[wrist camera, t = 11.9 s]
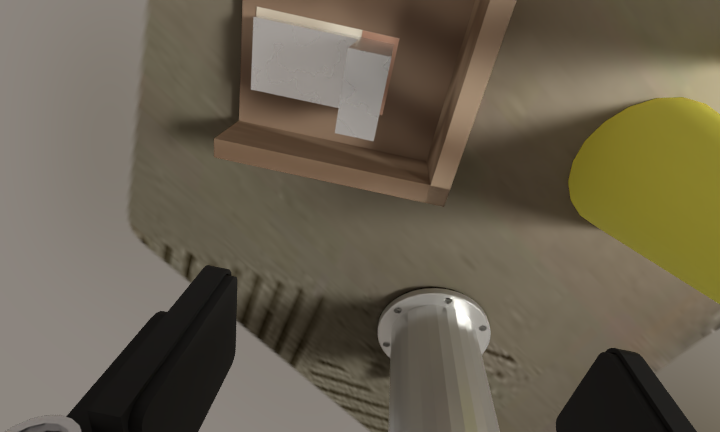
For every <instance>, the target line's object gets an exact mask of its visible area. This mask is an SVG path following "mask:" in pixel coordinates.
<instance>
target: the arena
mask: <svg viewBox="0 0 720 432" xmlns="http://www.w3.org/2000/svg"><path fill="white" fill-rule="evenodd" d="M516 1H517V0H243V5H242V38H241V71H240V104H239V121H237V122H236V123H235V124H233V125H232V126H231V127H229V128H228V129H226V130H225V131H224V132H222V133H221V134H220V135H218V136H217V137H215V138H214V157H216V158H220V159H225V160H230V161H234V162H239V163H243V164H248V165H253V166H257V167H262V168H267V169H271V170H276V171H280V172H285V173H290V174H294V175H299V176H304V177H308V178H313V179H318V180H322V181H327V182H331V183H336V184H341V185H345V186H350V187H355V188H359V189H364V190H368V191H373V192H378V193H382V194H387V195H392V196H396V197H401V198H405V199H410V200H415V201H419V202H424V203H429V204H433V205H438V206H442V207H444V206H445V203H446V200H447V197H448V194H449V191H450V189H451V186H452V183H453V180H454V177H455V174H456V171H457V169H458V166H459V163H460V160H461V157H462V154H463V152H464V149H465V146H466V143H467V140H468V137H469V135H470V132H471V129H472V126H473V123H474V120H475V118H476V115H477V112H478V109H479V106H480V103H481V101H482V98H483V95H484V92H485V89H486V86H487V84H488V81H489V78H490V75H491V72H492V69H493V67H494V64H495V61H496V58H497V55H498V52H499V50H500V47H501V44H502V41H503V38H504V35H505V33H506V30H507V27H508V24H509V21H510V18H511V16H512V13H513V10H514V7H515V4H516ZM256 16H265V17H270V18H274V19H279V20H284V21H288V22H293V23H298V24H302V25H307V26H312V27H316V28H321V29H325V30H330V31H335V32H339V33H344V34H349V35H353V36H358V37H363V38H367V39H372V40H377V41H381V42H386V43H391V44H394V46H393V52H392V57H391V62H390V67H389V71H388V76H387V81H386V86H385V90H384V95H383V100H382V104H381V109H380V114H379V118H378V123H377V128H376V133H375V137H374V141H370V140H365V139H360V138H356V137H351V136H346V135H342V134H337V133H335V128H336V122H337V115H338V109H339V108H336V107H331V106H326V105H322V104H317V103H312V102H307V101H303V100H298V99H293V98H289V97H284V96H279V95H275V94H270V93H265V92H261V91H256V90H251V71H252V44H253V17H256Z"/></svg>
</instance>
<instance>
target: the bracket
mask: <svg viewBox="0 0 720 432" xmlns="http://www.w3.org/2000/svg"><path fill="white" fill-rule="evenodd" d="M393 46H394V44H391V43H386V42H381V41H377V40H372V39H367V38H363V37H358V36H353V35H349V34H344V33H339V32H335V31H330V30H325V29H321V28H316V27H312V26H307V25H302V24H298V23H293V22H288V21H284V20H279V19H274V18H270V17H265V16H256V17H253V44H252V71H251V90H256V91H261V92H265V93H270V94H275V95H279V96H284V97H289V98H293V99H298V100H303V101H307V102H312V103H317V104H322V105H326V106H331V107H336V108H339V109H338V115H337V122H336V128H335V133H337V134H342V135H346V136H351V137H356V138H360V139H365V140H370V141H374V137H375V133H376V128H377V123H378V118H379V114H380V109H381V104H382V100H383V95H384V90H385V86H386V81H387V76H388V71H389V67H390V62H391V57H392V52H393Z"/></svg>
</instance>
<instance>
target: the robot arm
mask: <svg viewBox="0 0 720 432" xmlns="http://www.w3.org/2000/svg"><path fill="white" fill-rule="evenodd" d="M236 311H237V277H234V276H231V271H230V270H229V269H224V268H219V267H214V266H209V265H207V266H205V267H204V268H203V269H202V271H201V272H200V273H199V274H198V276H197V277H196V278H195V279H194V280H193V282H192V283H191V284H190V285H189V287H188V288H187V289H186V290H185V292H184V293H183V294H182V295H181V296H180V298H179V299H178V300H177V301H176V302H175V304H174V305H173V306H172V307H171V308H170V310H169V311H168V312H164V311H160V312H158V313H156V314H155V315H154V316H153V317H152V318H151V319H150V320H149V321H148V322H147V323H146V325H145V326H144V327H143V328H142V329H141V330H140V331H139V333H138V334H137V335H136V336H135V337H134V338H133V340H132V341H131V342H130V343H129V344H128V345H127V347H126V348H125V349H124V350H123V351H122V352H121V354H120V355H119V356H118V357H117V358H116V359H115V361H114V362H113V363H112V364H111V365H110V367H109V368H108V369H107V370H106V371H105V373H103V375H102V376H101V377H100V378H99V379H98V380H97V382H96V383H95V384H94V385H93V386H92V387H91V389H90V390H89V391H88V392H87V393H86V394H85V396H84V397H83V398H82V399H81V400H80V401H79V403H78V404H77V405H76V406H75V407H74V409H72V411H71V412H70V413H69V414H68V415H67V416H66V417H65V416H62V415H46V416H41V417H37V418H33V419H29V420H27V421H25V422H22V423H20V424H18V425H16V426H13V427H12V428H10V429H8V430H7V431H5V432H198V431H199V429H200V427H201V425H202V423H203V421H204V419H205V417H206V415H207V413H208V411H209V409H210V407H211V404H212V403H213V401H214V399H215V397H216V395H217V393H218V391H219V389H220V387H221V385H222V383H223V381H224V379H225V377H226V375H227V373H228V371H229V369H230V367H231V365H232V363H233V360H234V356H235V347H236ZM490 334H491V331H490V325H489V322H488V319H487V316H486V314H485V312H484V311H483V309H482V308H481V307H480V306H479V305H478V304H477V303H476V302H475V301H474V300H472V299H471V298H469V297H468V296H466V295H463V294H461V293H459V292H456V291H452V290H448V289H439V288H427V289H420V290H415V291H411V292H409V293H406V294H403V295H401V296H400V297H398V298H396V299H394V300H393V301H392V302H391V303H390V304H389V305H387V307H386V308H385V309H384V311H383V312H382V314H381V316H380V318H379V323H378V340H379V344H380V346H381V348H382V350H383V351H384V352H385V353H386V355H387V356H388V357H389V358H390V398H389V432H500V430H499V426H498V421H497V417H496V413H495V409H494V405H493V400H492V396H491V392H490V388H489V384H488V379H487V375H486V371H485V367H484V363H483V358H482V354H483V352H484V351H485V350H486V348H487V346H488V344H489V341H490ZM556 431H557V432H697V431H696V430H695V429H694V427H693V426H692V425H691V423H690V422H689V421H688V419H687V418H686V416H685V415H684V414H683V412H682V411H681V410H680V408H679V407H678V405H677V404H676V403H675V401H674V400H673V399H672V397H671V396H670V394H669V393H668V392H667V390H666V389H665V388H664V386H663V385H662V383H661V382H660V381H659V379H658V378H657V377H656V375H655V374H654V372H653V371H652V370H651V368H650V367H649V366H648V364H647V363H646V361H645V360H644V359H643V358H642V357H641V355H640V354H638V353H636V352H631V351H626V350H621V349H616V348H610V349H608V350H607V351H606V352H603V353H600V355H599V356H598V357H597V359H596V360H595V362H594V363H593V365H592V366H591V368H590V369H589V371H588V372H587V374H586V375H585V377H584V378H583V380H582V381H581V383H580V384H579V386H578V387H577V389H576V390H575V392H574V393H573V395H572V396H571V398H570V399H569V401H568V402H567V404H566V405H565V407H564V408H563V410H562V411H561V413H560V414H559V416H558V417H557V420H556Z"/></svg>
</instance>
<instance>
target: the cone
mask: <svg viewBox="0 0 720 432" xmlns="http://www.w3.org/2000/svg"><path fill="white" fill-rule="evenodd" d="M568 185H569V192H570V199H571V202H572V203H573V205H574V207H575V208H576V210H577V211H578V213H579V215H580V216H582V217H583V218H585V219H586V220H587V221H589V222H590V223H592V224H593V225H595V226H596V227H598V228H599V229H601V230H602V231H604V232H606V233H607V234H609V235H610V236H612V237H614V238H615V239H617V240H618V241H620V242H622V243H623V244H625V245H626V246H628V247H630V248H631V249H633V250H634V251H636V252H637V253H639V254H641V255H642V256H644V257H645V258H647V259H649V260H650V261H652V262H653V263H655V264H657V265H658V266H660V267H661V268H663V269H665V270H666V271H668V272H669V273H671V274H672V275H674V276H676V277H677V278H679V279H680V280H682V281H684V282H685V283H687V284H688V285H690V286H692V287H693V288H695V289H696V290H698V291H699V292H701V293H703V294H704V295H706V296H707V297H709V298H711V299H712V300H714V301H715V302H717V303H719V304H720V114H719V113H717V112H716V111H715V110H713V109H712V108H710V107H709V106H708V105H706V104H704V103H700V102H697V101H694V100H690V99H687V98H684V97H677V98H656V99H652V100H649V101H646V102H643V103H640V104H637V105H633V106H630V107H628V108H626V109H625V110H623V111H621V112H620V113H618V114H616V115H615V116H613V117H611V118H610V119H608V120H606V121H605V122H604V123H603V124H602V125H601V126H600V127H599V128H598V129H597V130H595V131H594V132H593V133H592V134H591V135H590V136H589V137H588V138H587V139H586V140H585V142H584V143H583V145H582V147H581V149H580V150H579V152H578V154H577V155H576V157H575V159H574V160H573V163H572V167H571V171H570V176H569V180H568Z"/></svg>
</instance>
